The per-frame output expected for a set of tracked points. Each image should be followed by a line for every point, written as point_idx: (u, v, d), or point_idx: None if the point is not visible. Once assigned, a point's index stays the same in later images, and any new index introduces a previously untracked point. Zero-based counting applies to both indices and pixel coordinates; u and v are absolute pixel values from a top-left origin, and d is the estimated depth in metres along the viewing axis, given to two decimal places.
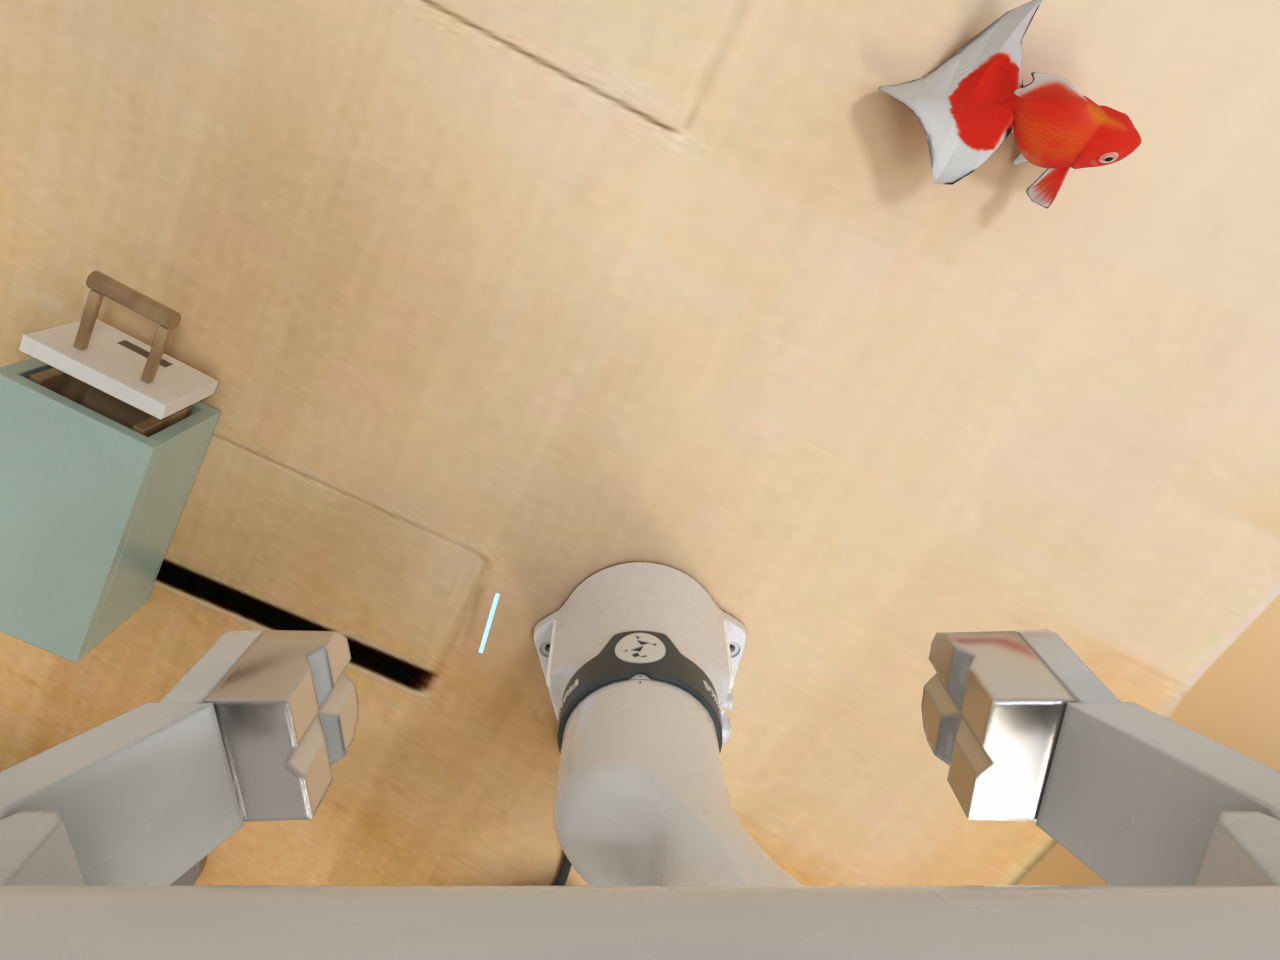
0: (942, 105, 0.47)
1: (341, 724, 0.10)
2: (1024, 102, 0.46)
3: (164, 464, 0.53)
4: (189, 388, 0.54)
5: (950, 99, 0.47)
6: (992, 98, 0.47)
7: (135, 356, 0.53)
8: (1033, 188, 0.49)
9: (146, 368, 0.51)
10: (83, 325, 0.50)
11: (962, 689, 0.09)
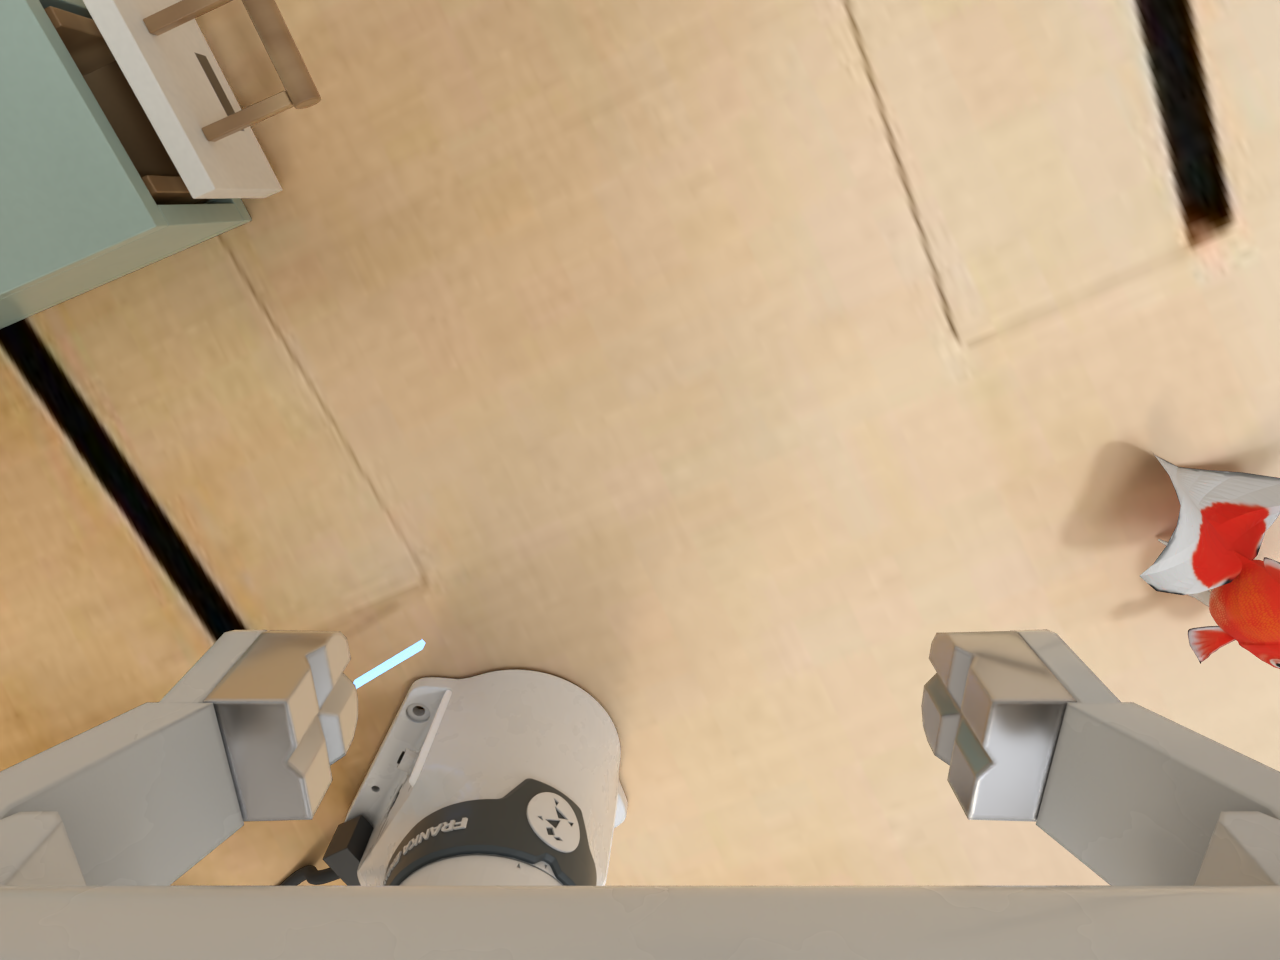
0: (1196, 515, 0.43)
1: (341, 724, 0.10)
2: (1261, 570, 0.43)
3: (143, 243, 0.35)
4: (249, 179, 0.37)
5: (1201, 513, 0.44)
6: (1231, 540, 0.44)
7: (207, 89, 0.36)
8: (1194, 633, 0.47)
9: (221, 123, 0.34)
10: (180, 8, 0.32)
11: (962, 689, 0.09)
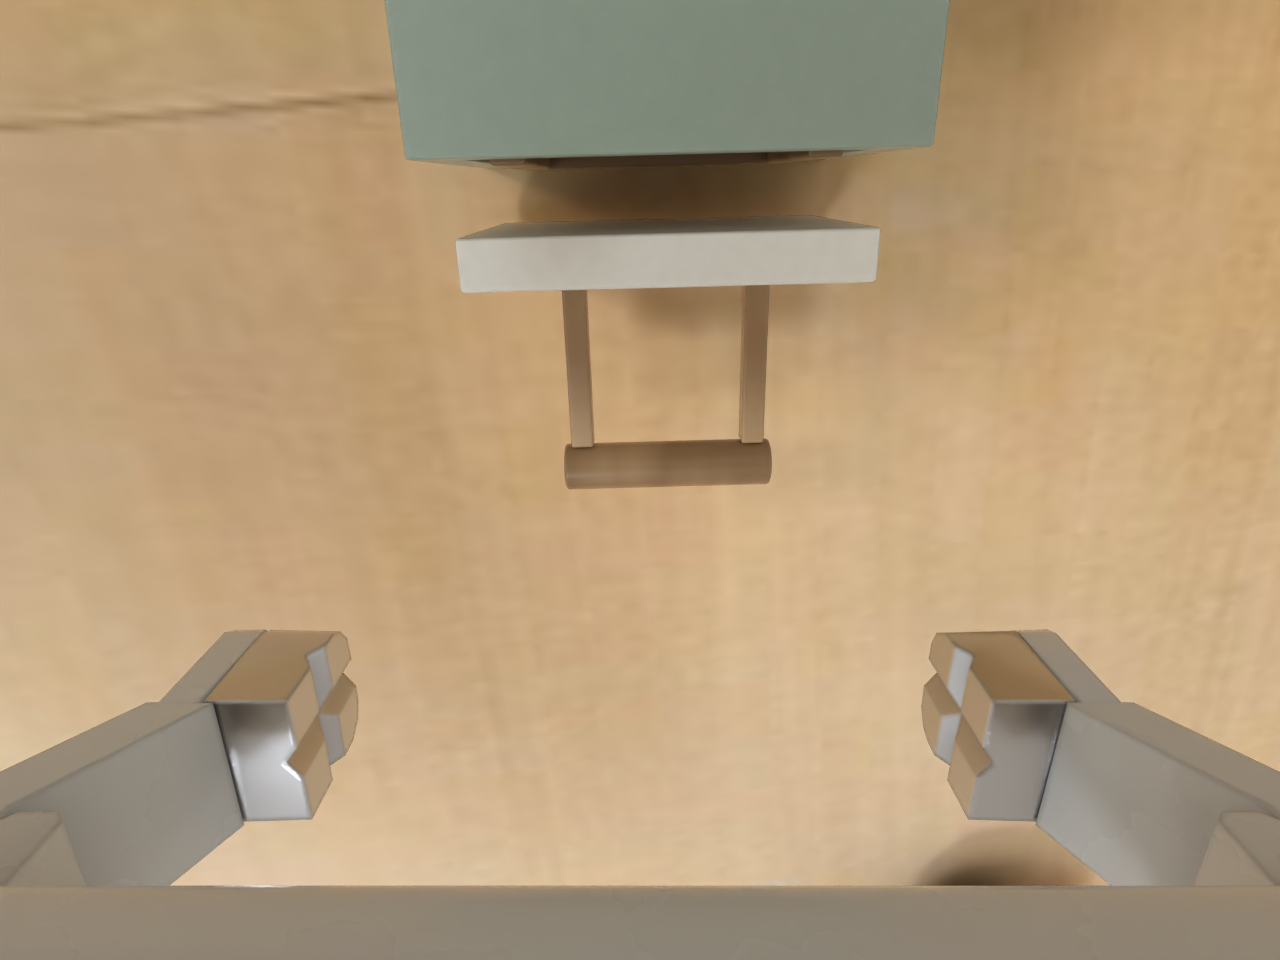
0: None
1: (341, 724, 0.10)
2: None
3: None
4: None
5: None
6: None
7: None
8: None
9: (580, 323, 0.19)
10: (757, 348, 0.19)
11: (962, 689, 0.09)
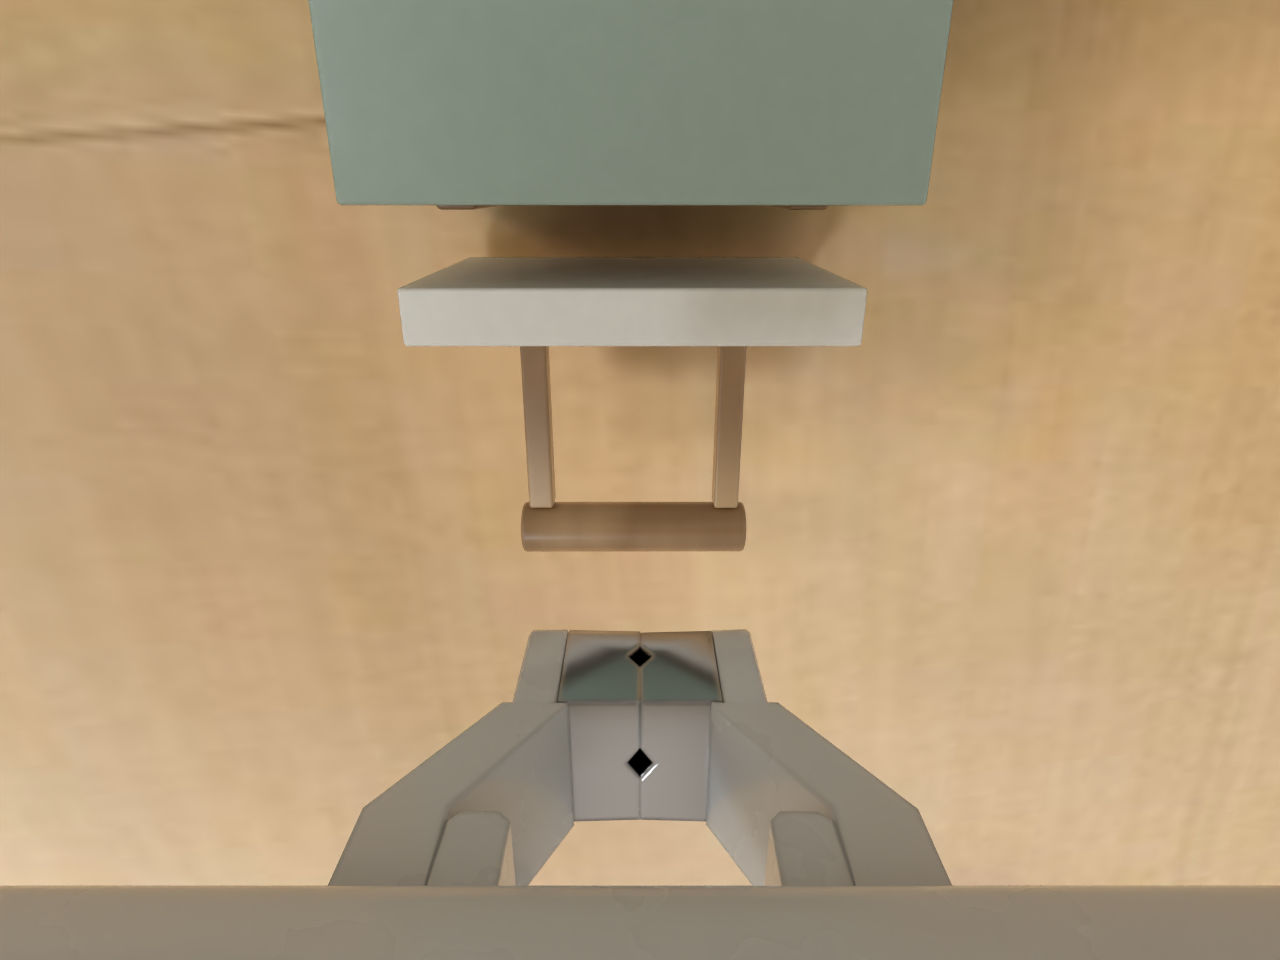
0: None
1: None
2: None
3: None
4: None
5: None
6: None
7: None
8: None
9: (539, 377, 0.17)
10: (731, 409, 0.18)
11: None
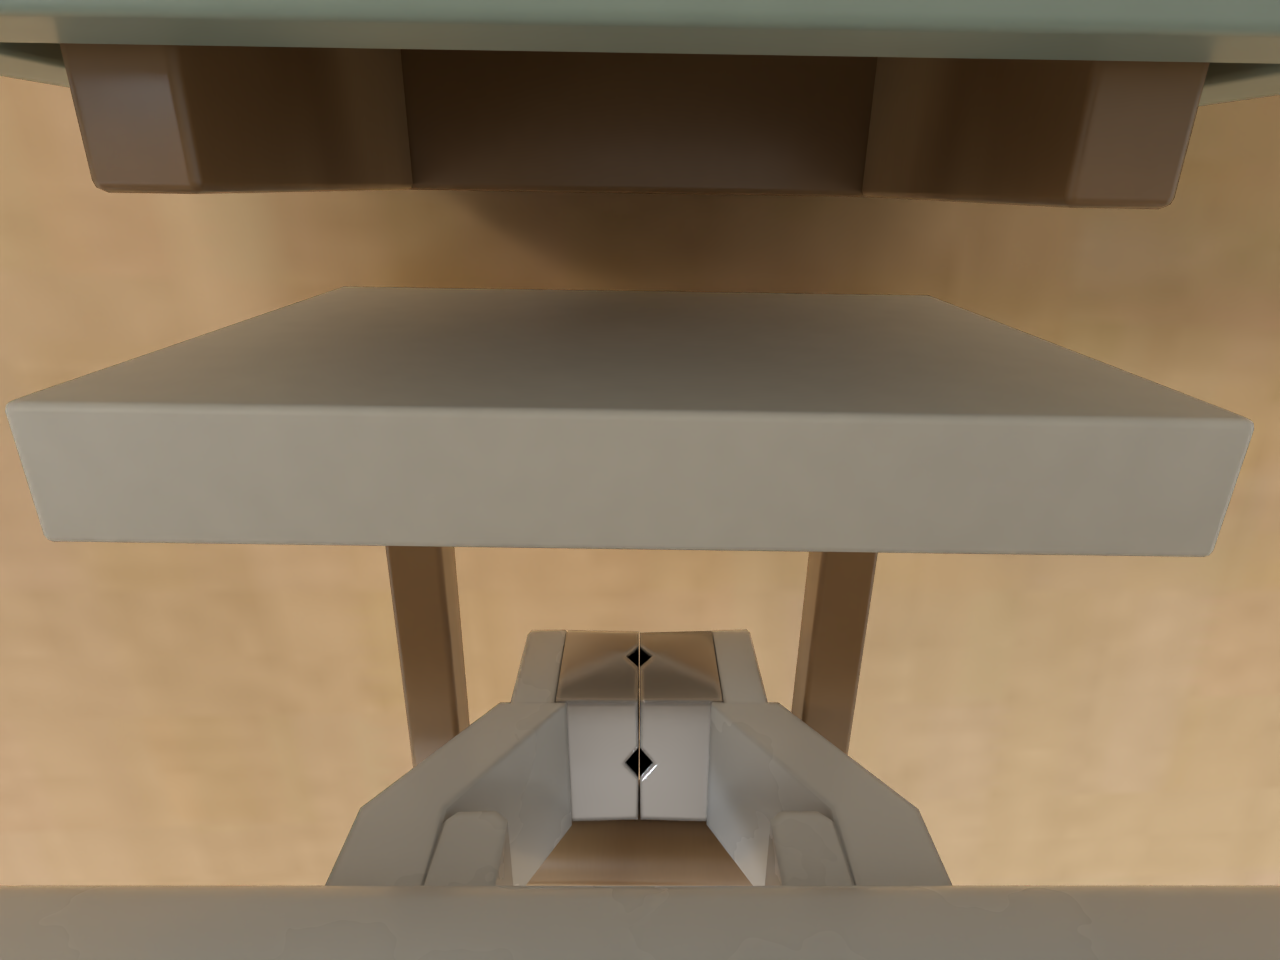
0: None
1: None
2: None
3: None
4: None
5: None
6: None
7: None
8: None
9: (425, 569, 0.08)
10: (843, 636, 0.08)
11: None
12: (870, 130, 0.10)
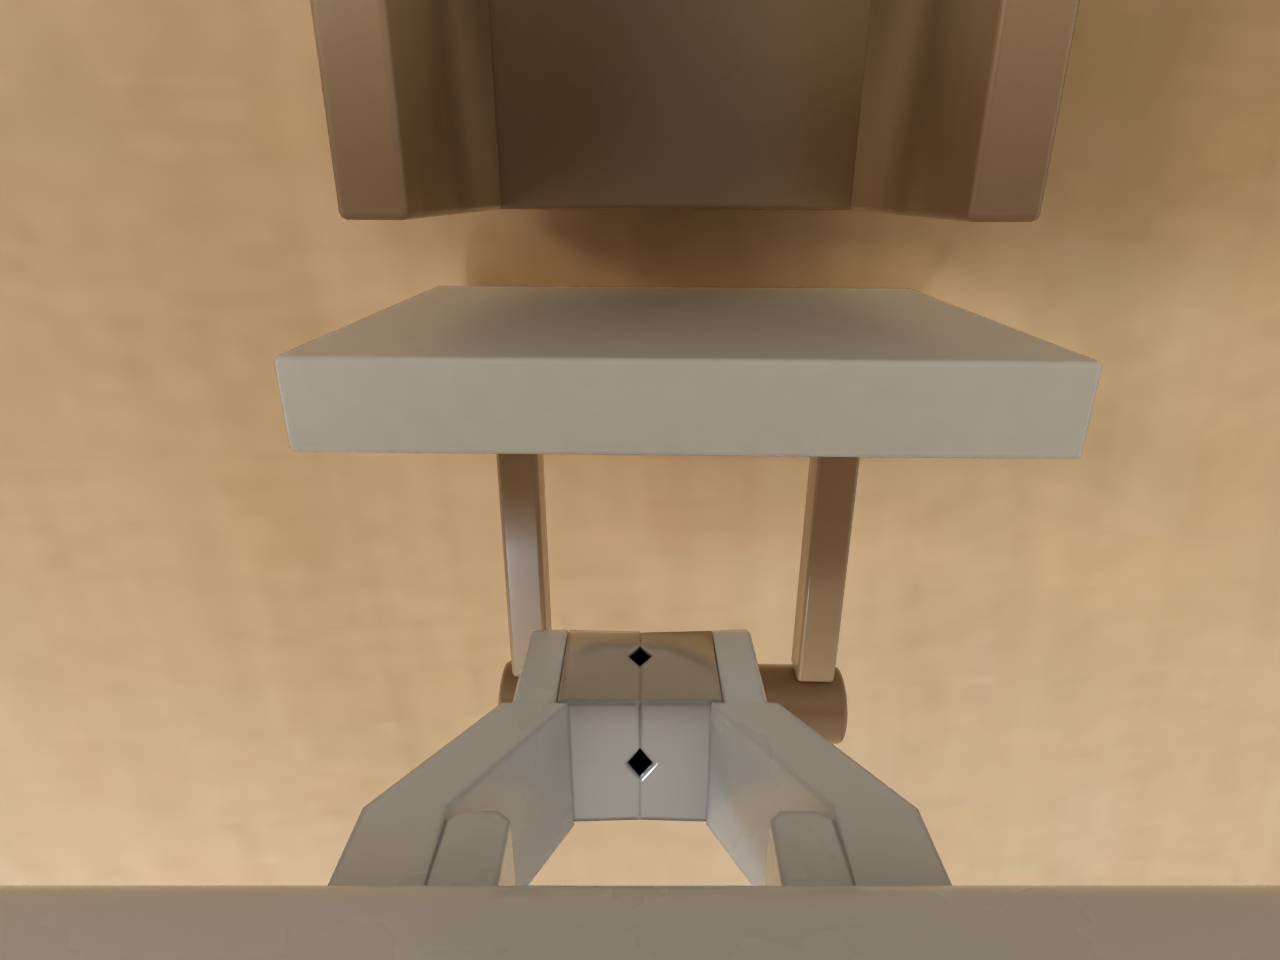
0: None
1: None
2: None
3: None
4: None
5: None
6: None
7: None
8: None
9: (526, 487, 0.11)
10: (833, 538, 0.11)
11: None
12: (856, 159, 0.13)
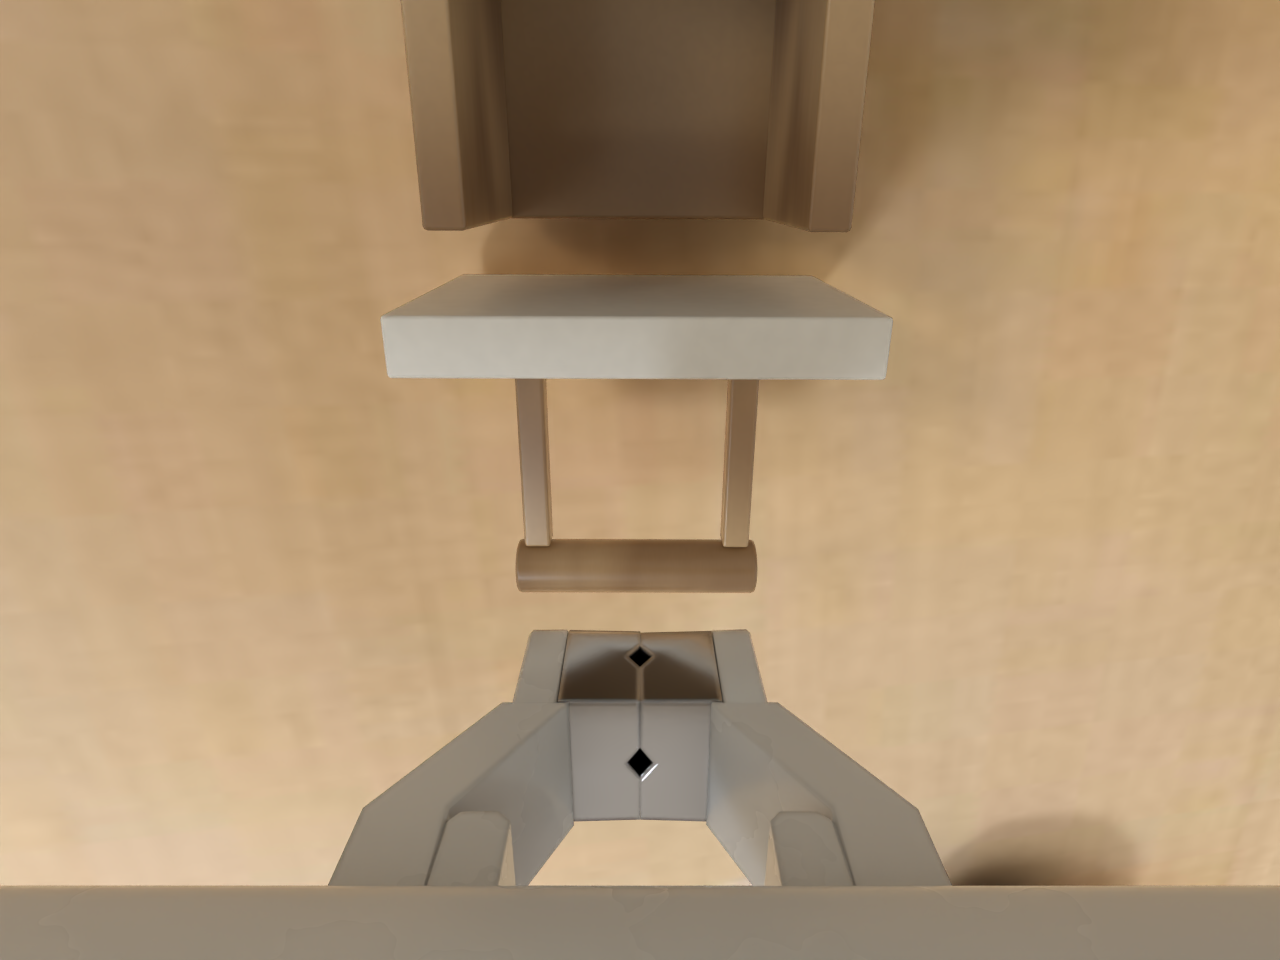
0: None
1: None
2: None
3: None
4: None
5: None
6: None
7: None
8: None
9: (535, 408, 0.16)
10: (743, 443, 0.16)
11: None
12: (764, 183, 0.18)
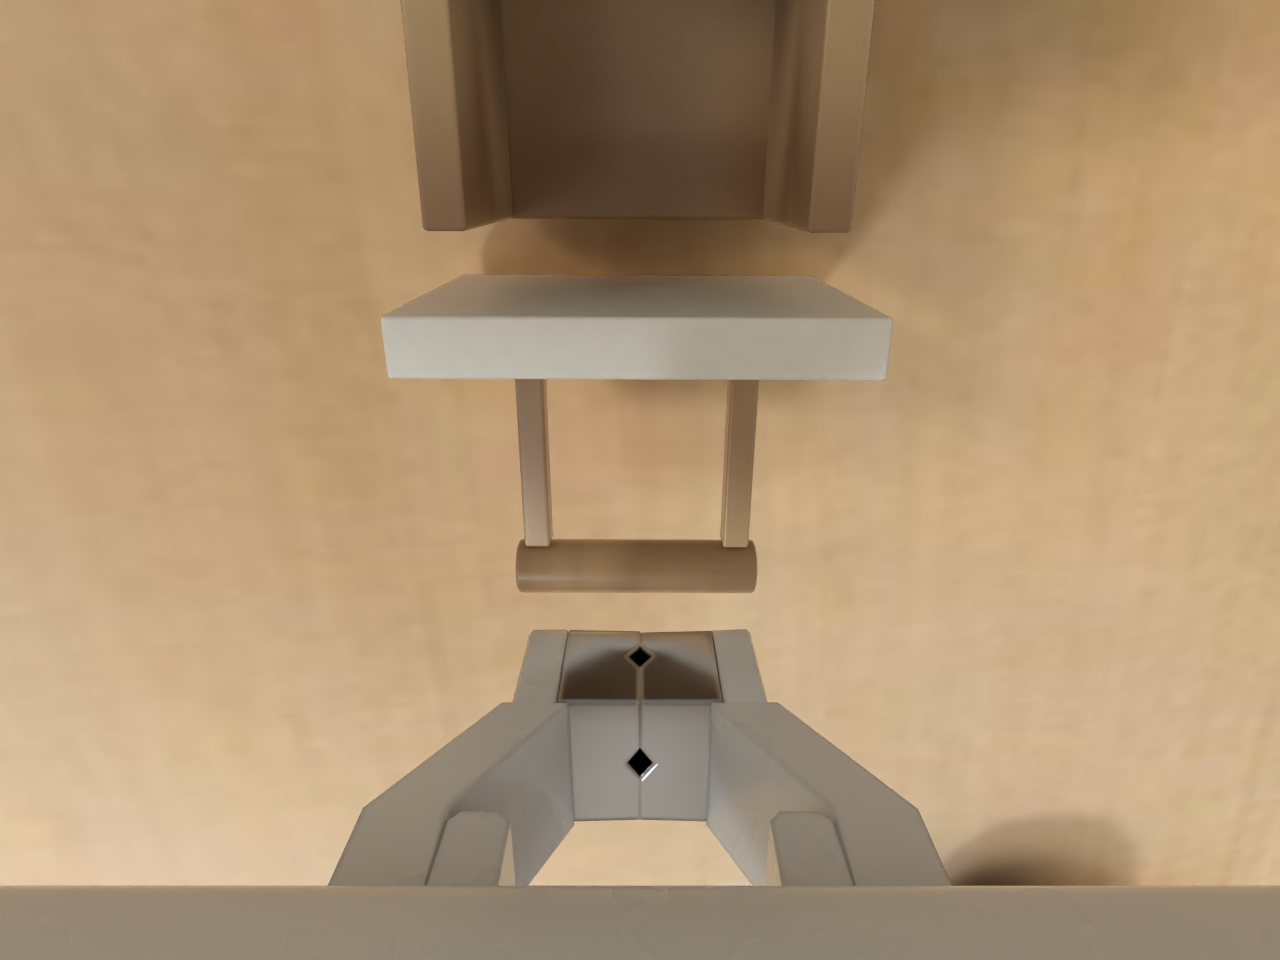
0: None
1: None
2: None
3: None
4: None
5: None
6: None
7: None
8: None
9: (536, 409, 0.16)
10: (743, 443, 0.16)
11: None
12: (764, 184, 0.18)
